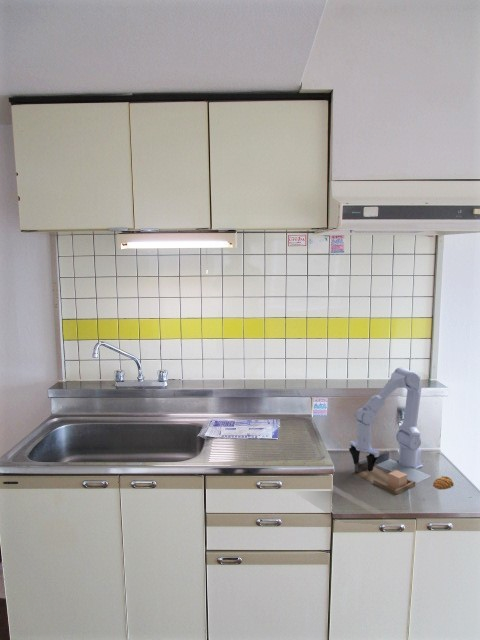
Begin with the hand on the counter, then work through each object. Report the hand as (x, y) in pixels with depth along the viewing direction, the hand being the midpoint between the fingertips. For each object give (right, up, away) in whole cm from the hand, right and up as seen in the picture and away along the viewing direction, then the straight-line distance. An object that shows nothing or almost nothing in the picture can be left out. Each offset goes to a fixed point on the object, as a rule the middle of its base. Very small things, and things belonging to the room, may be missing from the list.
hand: (363, 467), depth 184 cm
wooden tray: (+6, -4, -8) cm, 10 cm away
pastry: (+28, -4, -13) cm, 31 cm away
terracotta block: (+10, -3, -14) cm, 17 cm away
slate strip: (+16, -3, 0) cm, 17 cm away
